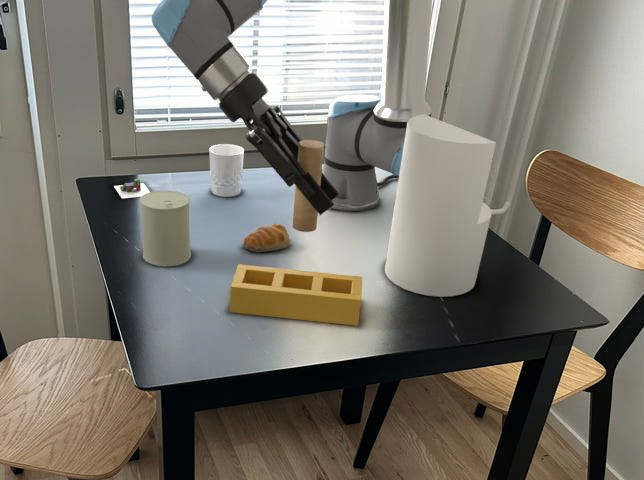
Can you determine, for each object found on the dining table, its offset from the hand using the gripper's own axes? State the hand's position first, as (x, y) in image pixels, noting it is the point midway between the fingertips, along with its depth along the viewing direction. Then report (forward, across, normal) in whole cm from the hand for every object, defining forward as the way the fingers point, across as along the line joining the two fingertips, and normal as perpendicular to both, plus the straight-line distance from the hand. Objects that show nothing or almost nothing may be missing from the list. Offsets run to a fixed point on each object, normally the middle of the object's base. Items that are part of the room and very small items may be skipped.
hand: (329, 204), depth 116 cm
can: (-9, -8, -36) cm, 38 cm away
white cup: (-9, -44, -35) cm, 57 cm away
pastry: (+3, -19, -23) cm, 30 cm away
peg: (+1, 0, -6) cm, 6 cm away
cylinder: (+26, -18, 0) cm, 31 cm away
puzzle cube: (-23, -37, -49) cm, 66 cm away
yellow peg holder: (+10, +3, -16) cm, 19 cm away
